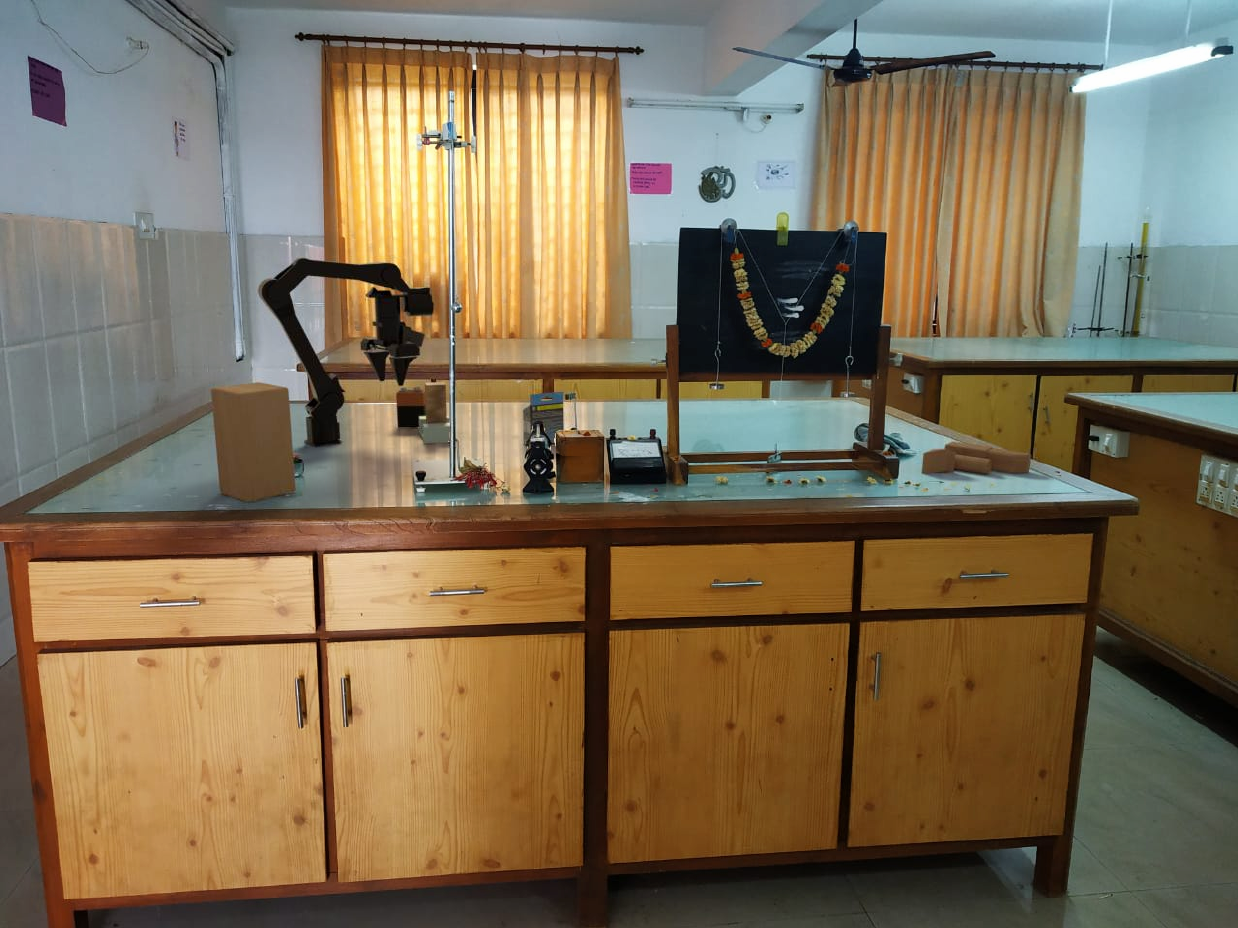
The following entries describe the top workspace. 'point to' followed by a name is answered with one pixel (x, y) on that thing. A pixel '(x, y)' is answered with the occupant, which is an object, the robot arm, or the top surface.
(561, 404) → the label tape cartridge
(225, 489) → the wooden block
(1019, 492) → the top surface
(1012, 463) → the wooden block set
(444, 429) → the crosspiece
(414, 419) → the battery
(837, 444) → the top surface
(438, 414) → the slat
